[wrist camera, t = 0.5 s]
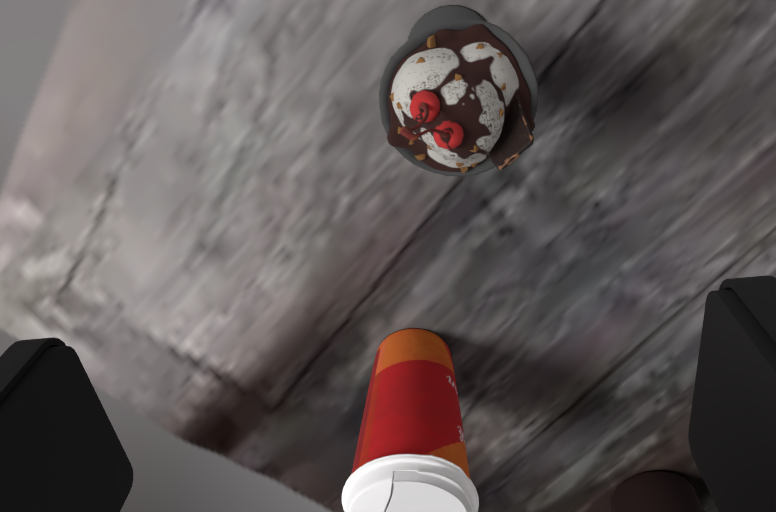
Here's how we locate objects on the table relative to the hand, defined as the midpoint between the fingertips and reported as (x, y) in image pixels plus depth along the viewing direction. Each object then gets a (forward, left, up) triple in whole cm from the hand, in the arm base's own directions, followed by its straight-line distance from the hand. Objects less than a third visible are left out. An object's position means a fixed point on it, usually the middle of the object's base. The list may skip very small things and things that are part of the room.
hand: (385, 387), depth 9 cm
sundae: (-1, +2, -29) cm, 29 cm away
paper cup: (+8, +22, -29) cm, 37 cm away
